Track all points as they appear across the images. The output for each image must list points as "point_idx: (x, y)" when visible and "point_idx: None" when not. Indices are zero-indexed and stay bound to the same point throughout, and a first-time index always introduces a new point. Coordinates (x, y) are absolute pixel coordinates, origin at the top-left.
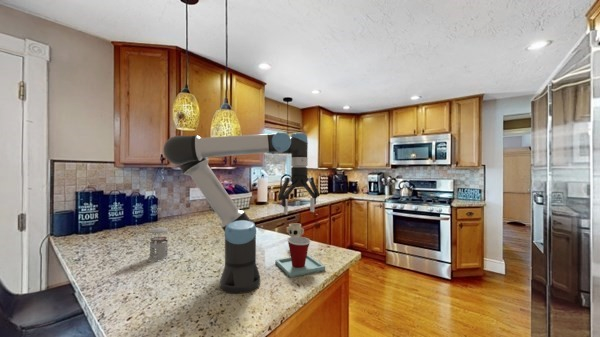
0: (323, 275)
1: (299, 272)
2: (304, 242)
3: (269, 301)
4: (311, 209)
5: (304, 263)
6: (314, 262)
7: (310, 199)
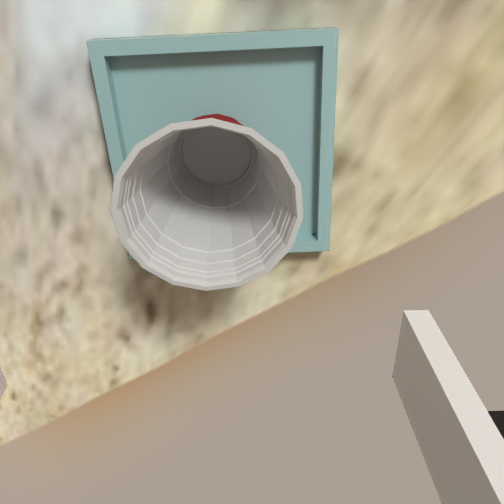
0: (287, 280)
1: None
2: (274, 166)
3: (25, 366)
4: (408, 363)
5: (241, 188)
6: (318, 159)
7: (489, 484)
